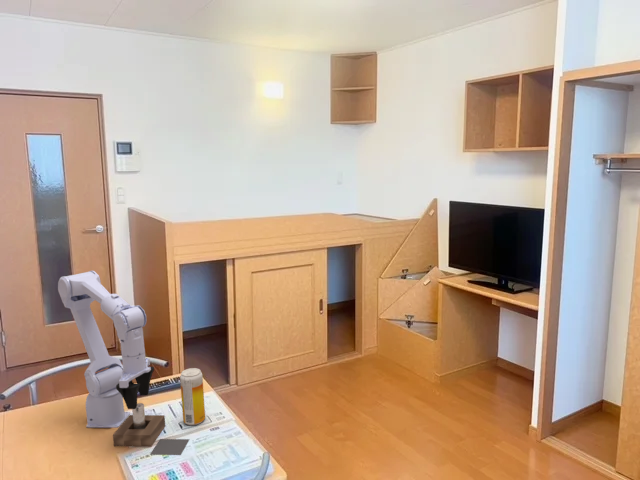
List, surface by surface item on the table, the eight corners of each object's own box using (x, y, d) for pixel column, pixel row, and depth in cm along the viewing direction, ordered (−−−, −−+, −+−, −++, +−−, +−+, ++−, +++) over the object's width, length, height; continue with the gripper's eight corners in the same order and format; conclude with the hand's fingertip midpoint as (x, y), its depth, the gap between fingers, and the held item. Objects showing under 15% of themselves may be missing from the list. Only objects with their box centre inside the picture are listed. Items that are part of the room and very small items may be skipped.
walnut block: (114, 447, 129) (112, 434, 129) (130, 426, 139) (129, 415, 139) (151, 447, 129) (150, 435, 128) (165, 426, 139) (164, 415, 138)
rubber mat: (149, 455, 125) (149, 454, 125) (160, 440, 132) (160, 438, 132) (180, 456, 125) (180, 454, 125) (189, 440, 132) (189, 439, 132)
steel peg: (132, 439, 133) (130, 408, 131) (137, 433, 136) (135, 403, 134) (143, 440, 132) (140, 408, 131) (148, 433, 135) (145, 403, 134)
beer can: (208, 416, 144) (205, 367, 141) (201, 427, 138) (197, 377, 136) (188, 415, 145) (184, 367, 142) (180, 426, 139) (176, 376, 136)
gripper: (136, 363, 123) (141, 414, 125) (158, 342, 137) (162, 388, 139) (108, 364, 123) (114, 415, 125) (133, 343, 137) (138, 389, 139)
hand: (138, 401), depth 132 cm, fingers open, 7 cm apart
